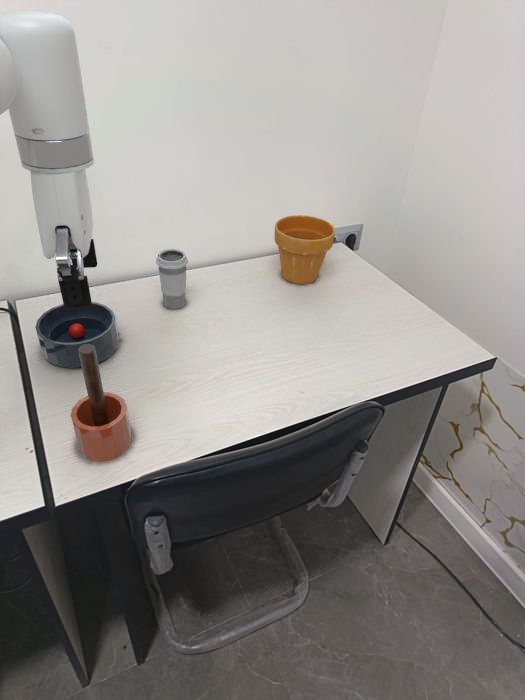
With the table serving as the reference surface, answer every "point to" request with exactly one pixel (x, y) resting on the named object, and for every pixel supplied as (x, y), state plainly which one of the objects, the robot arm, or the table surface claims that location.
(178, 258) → the cup
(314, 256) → the flower pot
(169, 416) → the table surface
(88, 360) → the stick
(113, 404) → the holder
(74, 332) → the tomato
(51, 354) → the bowl
